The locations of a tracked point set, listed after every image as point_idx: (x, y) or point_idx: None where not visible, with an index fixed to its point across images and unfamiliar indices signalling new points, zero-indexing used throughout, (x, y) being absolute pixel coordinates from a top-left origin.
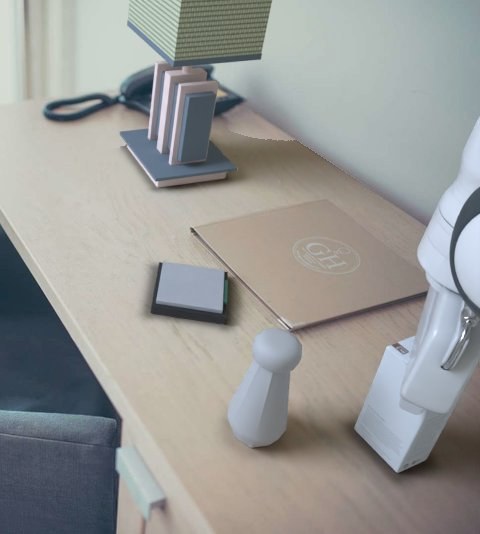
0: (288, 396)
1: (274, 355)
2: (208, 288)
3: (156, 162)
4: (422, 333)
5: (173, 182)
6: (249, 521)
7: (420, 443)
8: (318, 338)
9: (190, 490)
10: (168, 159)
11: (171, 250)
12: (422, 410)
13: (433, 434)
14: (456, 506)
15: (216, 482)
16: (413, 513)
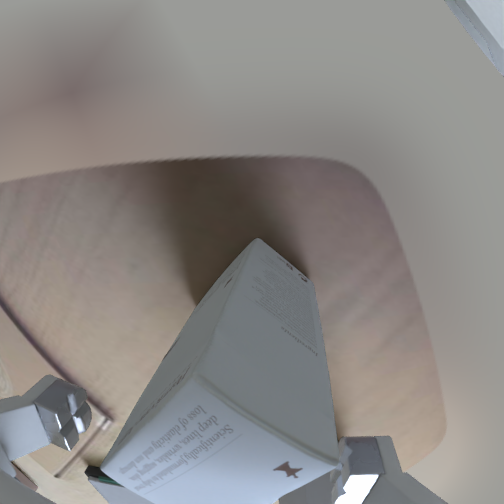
0: (307, 492)
1: None
2: (125, 495)
3: None
4: None
5: (24, 478)
6: (439, 420)
7: (299, 298)
8: (98, 389)
9: (412, 465)
10: None
11: (94, 496)
12: (393, 447)
13: (273, 283)
14: (336, 184)
15: (399, 454)
16: (379, 252)
